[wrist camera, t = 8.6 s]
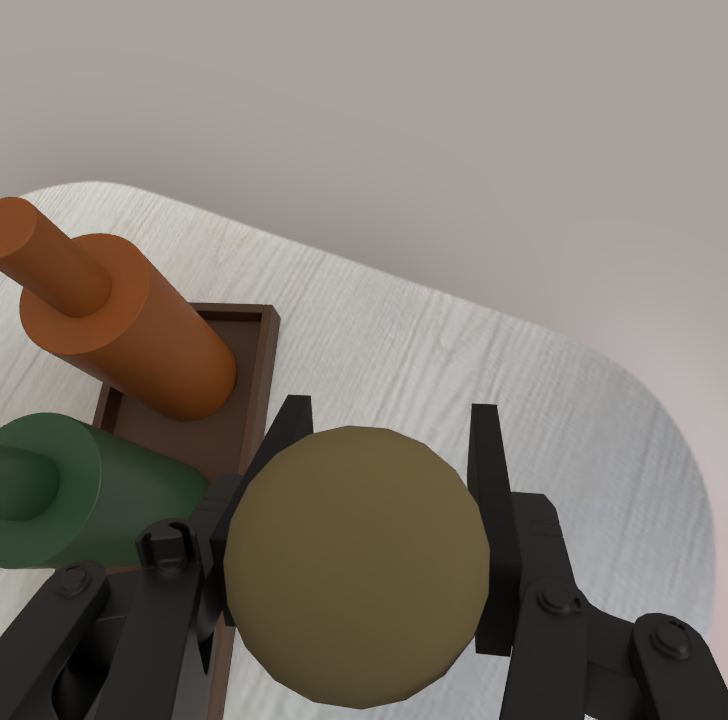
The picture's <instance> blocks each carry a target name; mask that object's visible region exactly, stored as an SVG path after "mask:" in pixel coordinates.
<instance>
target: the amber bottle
mask: <svg viewBox="0 0 728 720" xmlns="http://www.w3.org/2000/svg"><path fill="white" fill-rule="evenodd" d="M0 271H1V272H2V273H4V274H5V275H7V276H8V277H10V278H11V279H13V280H14V281H16V282H17V283H18V284H20V285H21V286H23V290H22V294H21V297H20V305H19V307H20V318H21V322H22V325H23V328H24V330H25V332H26V334H27V335H28V336H29V338H30V339H31V340H32V341H33V342H34V343H35V344H36V345H38V346H39V347H41V348H42V349H44V350H46V351H48V352H49V353H51V354H53V355H55V356H57V357H58V358H60V359H62V360H64V361H66V362H68V363H69V364H71V365H73V366H75V367H77V368H78V369H80V370H82V371H84V372H86V373H87V374H89V375H91V376H93V377H95V378H97V379H98V380H100V381H102V382H104V383H106V384H107V385H109V386H111V387H113V388H115V389H117V390H118V391H120V392H122V393H124V394H126V395H127V396H129V397H131V398H133V399H135V400H136V401H138V402H140V403H142V404H144V405H146V406H147V407H149V408H151V409H153V410H155V411H156V412H158V413H160V414H162V415H164V416H166V417H167V418H170V419H172V420H176V421H182V422H190V421H196V420H200V419H203V418H205V417H208V416H210V415H211V414H213V413H214V412H216V411H217V410H219V409H220V408H221V407H222V406H223V405H224V404H225V402H226V401H227V400H228V398H229V397H230V396H231V394H232V392H233V390H234V387H235V384H236V380H237V363H236V359H235V356H234V354H233V352H232V351H231V349H230V348H229V346H228V345H227V344H226V343H225V342H224V341H223V340H222V339H221V338H220V337H219V336H218V335H217V333H216V332H215V331H214V330H213V329H212V328H211V327H210V326H209V325H208V324H207V323H206V322H205V321H204V319H203V318H202V317H201V316H200V315H199V314H198V313H197V312H196V311H195V310H194V309H193V308H192V306H191V305H190V304H189V303H188V302H187V301H186V300H185V299H184V298H183V297H182V296H181V295H180V294H179V292H178V291H177V290H176V289H175V288H174V287H173V286H172V285H171V284H170V283H169V282H168V281H167V279H166V278H165V277H164V276H163V275H162V274H161V273H160V272H159V271H158V270H157V269H156V268H155V267H154V265H153V264H152V263H151V262H150V261H149V260H148V259H147V258H146V257H145V256H144V255H143V254H142V253H141V251H140V250H139V249H138V248H137V247H136V246H135V245H133V244H132V243H131V242H129V241H128V240H126V239H124V238H121V237H119V236H116V235H111V234H103V233H97V234H88V235H83V236H79V237H76V238H73V239H70V238H69V237H68V236H67V235H66V234H64V233H63V232H62V231H61V230H60V229H59V228H58V227H57V226H56V225H55V224H53V223H52V222H51V221H50V220H49V219H48V218H47V217H46V216H45V215H43V214H42V213H41V212H40V211H39V210H38V209H37V208H36V207H35V206H33V205H32V204H31V203H30V202H29V201H27V200H25V199H22V198H18V197H6V198H2V199H0Z"/></svg>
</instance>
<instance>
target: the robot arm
mask: <svg viewBox="0 0 728 720" xmlns="http://www.w3.org/2000/svg"><path fill="white" fill-rule="evenodd" d="M309 434H314V433H313V419H312V406H311V396H305V395H288V396H287V398H286V399H285V401H284V403H283V405H282V407H281V409H280V410H279V412H278V414H277V416H276V418H275V420H274V421H273V423H272V425H271V427H270V429H269V430H268V432H267V434H266V436H265V438H264V440H263V441H262V443H261V445H260V447H259V449H258V451H257V452H256V454H255V456H254V458H253V460H252V462H251V463H250V465H249V467H248V469H247V471H246V472H245V474H244V475H242V474H227V473H224V474H223V475H221V476H220V477H219V478H217V479H216V480H215V481H214V482H212V483H211V484H210V485H209V487H208V488H207V490H206V492H205V493H204V495H203V496H202V500H200V501H199V503H198V504H197V506H196V509H195V510H194V511H193V512H192V514H191V516H190V517H189V519H188V520H185V519H183V518H168V519H164V520H160V521H157V522H155V523H153V524H151V525H149V526H148V527H146V528H145V529H144V530H143V531H142V532H140V534H139V535H138V537H137V538H136V540H135V544H136V548H137V552H138V555H139V559H140V563H141V567H142V568H141V569H137V570H133V571H127V572H122V573H116V574H110V575H107V574H106V570H105V568H104V567H103V566H102V565H101V564H100V563H98V562H94V561H79V562H76V563H73V564H70V565H67V566H65V567H63V568H62V569H60V570H58V571H56V572H55V573H54V574H53V575H52V576H51V577H50V578H49V579H47V580H46V582H45V583H44V584H43V585H42V586H41V588H40V589H39V590H38V591H37V593H36V594H35V595H34V596H33V598H32V599H31V600H30V601H29V602H28V604H27V605H26V606H25V607H24V609H23V610H22V611H21V612H20V613H19V615H18V616H17V617H16V618H15V620H14V621H13V622H12V623H11V625H10V626H9V627H8V628H7V629H6V631H5V632H4V633H3V634H2V636H1V637H0V720H207V712H208V705H209V698H210V690H211V683H212V676H213V669H214V661H215V654H216V647H217V634H216V628H215V626H216V623H217V621H218V619H219V617H220V614H221V612H222V610H223V616H224V621H225V626H230V627H237V626H236V624H235V621H234V619H233V617H232V614H231V612H230V610H229V607H228V603H227V593H226V584H225V574H224V565H223V561H224V555H225V550H226V544H227V539H228V533H229V528H230V522H231V519H232V517H233V515H234V513H235V511H236V509H237V507H238V505H239V503H240V501H241V499H242V497H243V495H244V493H245V491H246V489H247V487H248V485H249V483H250V482H251V481H252V480H253V479H254V478H255V476H256V475H257V474H258V473H259V472H260V471H261V470H262V469H263V468H264V467H265V466H266V465H267V464H268V462H269V461H270V460H271V459H272V458H273V457H274V456H275V455H276V454H277V453H279V452H281V451H282V450H284V449H286V448H287V447H289V446H291V445H292V444H294V443H296V442H298V441H299V440H301V439H303V438H304V437H306V436H308V435H309ZM467 487H468V491H469V492H470V494H471V495H472V497H473V498H474V500H475V502H476V503H477V505H478V507H479V511H480V515H481V518H482V522H483V525H484V529H485V533H486V536H487V540H488V543H489V547H490V560H489V594H488V597H487V600H486V603H485V606H484V609H483V611H482V614H481V617H480V620H479V623H478V626H477V629H476V632H475V647H476V653H479V654H488V655H497V656H506V657H510V656H511V660H510V665H509V670H508V676H507V681H506V686H505V691H504V696H503V701H502V707H501V712H500V717H499V720H584V717H585V714H586V715H588V716H591V717H593V718H595V719H597V720H728V689H727V687H726V685H725V683H724V680H723V678H722V676H721V674H720V672H719V669H718V667H717V665H716V663H715V661H714V658H713V657H712V654H711V652H710V649H709V647H708V645H707V644H706V643H705V641H704V640H703V638H702V637H701V635H700V634H699V633H698V632H697V631H695V630H694V629H693V628H692V627H691V626H690V625H688V624H687V623H685V622H683V621H681V620H679V619H677V618H676V617H674V616H670V615H666V614H662V613H647V614H645V615H643V616H641V617H639V618H637V620H636V622H635V624H634V623H631V622H628V621H626V620H623V619H620V618H617V617H614V616H612V615H609V614H607V613H605V612H603V611H601V610H599V609H598V608H596V607H595V606H593V605H592V604H590V603H589V602H588V600H587V599H586V597H585V596H584V594H583V593H582V591H580V590H579V589H578V588H577V585H576V583H575V580H574V576H573V572H572V568H571V564H570V561H569V557H568V553H567V549H566V546H565V542H564V538H563V534H562V530H561V527H560V525H559V519H558V515H557V512H556V508H555V507H554V505H553V504H552V503H551V502H550V501H549V500H548V498H547V497H546V496H545V495H544V494H536V493H521V492H511V491H510V484H509V478H508V472H507V466H506V459H505V453H504V447H503V441H502V434H501V428H500V422H499V416H498V409H497V405H493V404H472V409H471V423H470V438H469V452H468V466H467ZM511 648H513V650H512V655H511Z"/></svg>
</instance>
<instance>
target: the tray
mask: <svg viewBox="0 0 728 720" xmlns="http://www.w3.org/2000/svg"><path fill="white" fill-rule="evenodd" d="M188 303H189V302H188ZM189 304H190V305H191V306H192V308H193V309H194V310H195V311H196V312H197V313H198V314H199V315H200V316H201V317H202V318H203V319H204V321H205V322H206V323H207V324H208V325H209V326H210V327H211V328H212V329H213V330H214V331H215V332H216V333H217V335H218V336H219V337H220V338H221V339H222V340H223V341H224V342H225V343H226V344H227V345H228V346H229V348H230V349H231V351H232V352H233V354H234V356H235V359H236V363H237V380H236V384H235V387H234V390H233V392H232V394H231V396H230V397H229V398H228V400H227V401H226V402H225V404H224V405H223V406H222V407H221V408H220V409H219V410H217V411H216V412H214V413H213V414H211V415H210V416H208V417H205V418H203V419H200V420H196V421H190V422H182V421H176V420H172V419H170V418H167V417H166V416H164V415H162V414H160V413H158V412H156V411H155V410H153V409H151V408H149V407H147V406H146V405H144V404H142V403H140V402H138V401H136V400H135V399H133V398H131V397H129V396H127V395H126V394H124V393H122V392H120V391H118V390H117V389H115V388H113V387H111V386H109V385H107V384H106V383H104V382H103V384H102V388H101V392H100V396H99V400H98V404H97V408H96V412H95V416H94V419H93V423H92V426H94V427H96V428H99V429H101V430H104V431H106V432H109V433H111V434H114V435H116V436H119V437H121V438H124V439H126V440H129V441H131V442H134V443H136V444H139V445H141V446H144V447H146V448H149V449H151V450H154V451H156V452H158V453H161V454H163V455H166V456H168V457H171V458H173V459H176V460H178V461H181V462H183V463H186V464H188V465H190V466H192V467H194V468H196V469H197V470H198V471H199V472H201V473H202V474H203V476H204V477H205V478H206V480H207V481H208V483H209V485H210V484H211V483H212V482H214V481H215V480H216V479H217V478H219V477H220V476H221V475H223V474H224V473H227V474H242V475H244V474H245V472H246V471H247V469H248V467H249V465H250V463H251V462H252V460H253V458H254V456H255V454H256V452H257V451H258V449H259V447H260V445H261V443H262V441H263V436H264V429H265V422H266V415H267V408H268V401H269V394H270V387H271V380H272V374H273V367H274V360H275V353H276V346H277V339H278V332H279V325H280V319H281V318H280V317H279V315H278V313H277V312H276V310H275V308H274V307H273V305H262V304H225V303H189ZM104 568H105V570H106V574H107V575H110V574H116V573H122V572H127V571H133V570H137V569H141V568H142V567H141V566H139V567H104ZM60 569H62V568H56V569H55V572H56V571H58V570H60ZM215 628H216V634H217V647H216V654H215V661H214V669H213V676H212V683H211V690H210V698H209V705H208V712H207V720H222V718H223V711H224V704H225V697H226V690H227V683H228V676H229V670H230V663H231V656H232V649H233V642H234V635H235V628H236V627H230V626H225V621H224V616H223V610H222V612H221V614H220V617H219V619H218V621H217V623H216V626H215Z"/></svg>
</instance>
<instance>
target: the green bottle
mask: <svg viewBox="0 0 728 720" xmlns="http://www.w3.org/2000/svg"><path fill="white" fill-rule="evenodd" d="M208 487H209V483H208V481H207V480H206V478H205V477H204V476H203V474H202V473H201V472H199V471H198V470H197V469H196V468H194V467H192V466H190V465H188V464H186V463H183V462H181V461H178V460H176V459H173V458H171V457H168V456H166V455H163V454H161V453H158V452H156V451H154V450H151V449H149V448H146V447H144V446H141V445H139V444H136V443H134V442H131V441H129V440H126V439H124V438H121V437H119V436H116V435H114V434H111V433H109V432H106V431H104V430H101V429H99V428H96V427H94V426H91V425H89V424H86V423H84V422H81V421H79V420H76V419H74V418H71V417H69V416H66V415H62V414H58V413H36V414H31V415H27V416H23V417H21V418H18V419H16V420H13V421H12V422H10V423H8V424H6V425H4V426H3V427H1V428H0V568H4V569H45V568H63V567H65V566H67V565H70V564H73V563H76V562H79V561H94V562H98V563H100V564H101V565H102V566H103V567H139V566H141V563H140V559H139V555H138V552H137V548H136V544H135V540H136V538H137V537H138V535H139V534H140V532H142V531H143V530H144V529H145V528H146V527H148V526H149V525H151V524H153V523H155V522H157V521H160V520H164V519H168V518H183V519H185V520H188V519H189V517H190V516H191V514H192V512H193V511H194V510H195V509H196V506H197V504H198V503H199V501H200V500H202V496H203V495H204V493H205V492H206V490H207V488H208Z"/></svg>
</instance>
